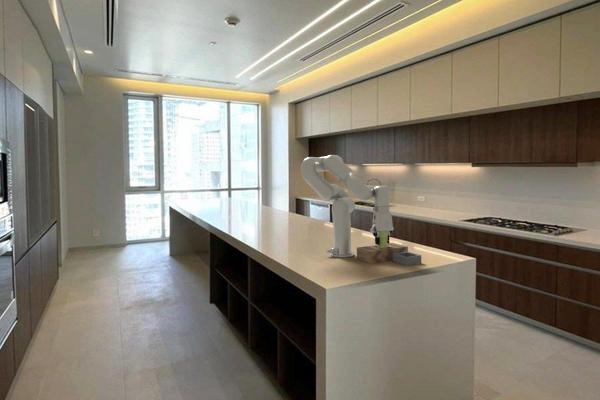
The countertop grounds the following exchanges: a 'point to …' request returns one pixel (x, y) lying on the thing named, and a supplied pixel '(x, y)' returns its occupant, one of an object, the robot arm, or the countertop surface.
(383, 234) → the tube
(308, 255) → the countertop surface
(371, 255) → the port block
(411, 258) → the frame
